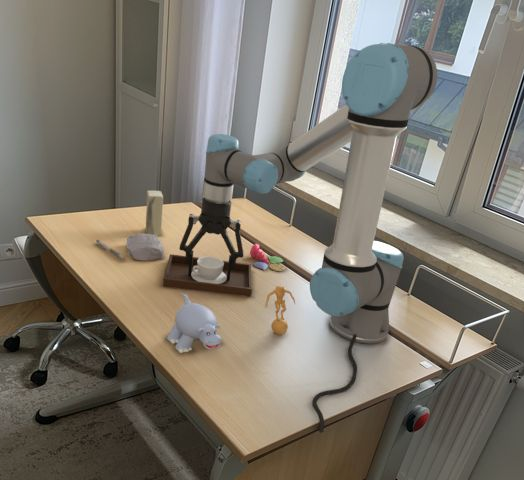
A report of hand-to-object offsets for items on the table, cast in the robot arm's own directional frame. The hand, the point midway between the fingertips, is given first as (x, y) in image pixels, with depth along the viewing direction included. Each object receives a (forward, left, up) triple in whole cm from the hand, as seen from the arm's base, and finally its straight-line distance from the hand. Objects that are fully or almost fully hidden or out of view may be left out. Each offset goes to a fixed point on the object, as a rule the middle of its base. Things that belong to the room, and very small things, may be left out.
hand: (209, 276), depth 153 cm
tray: (0, 0, -1) cm, 1 cm away
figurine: (-24, -18, -1) cm, 30 cm away
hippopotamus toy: (-34, +1, -1) cm, 34 cm away
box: (+27, +19, -1) cm, 33 cm away
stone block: (+12, +20, -1) cm, 23 cm away
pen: (+9, +29, -1) cm, 30 cm away
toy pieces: (+15, -17, -1) cm, 23 cm away
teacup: (0, 0, -1) cm, 1 cm away
